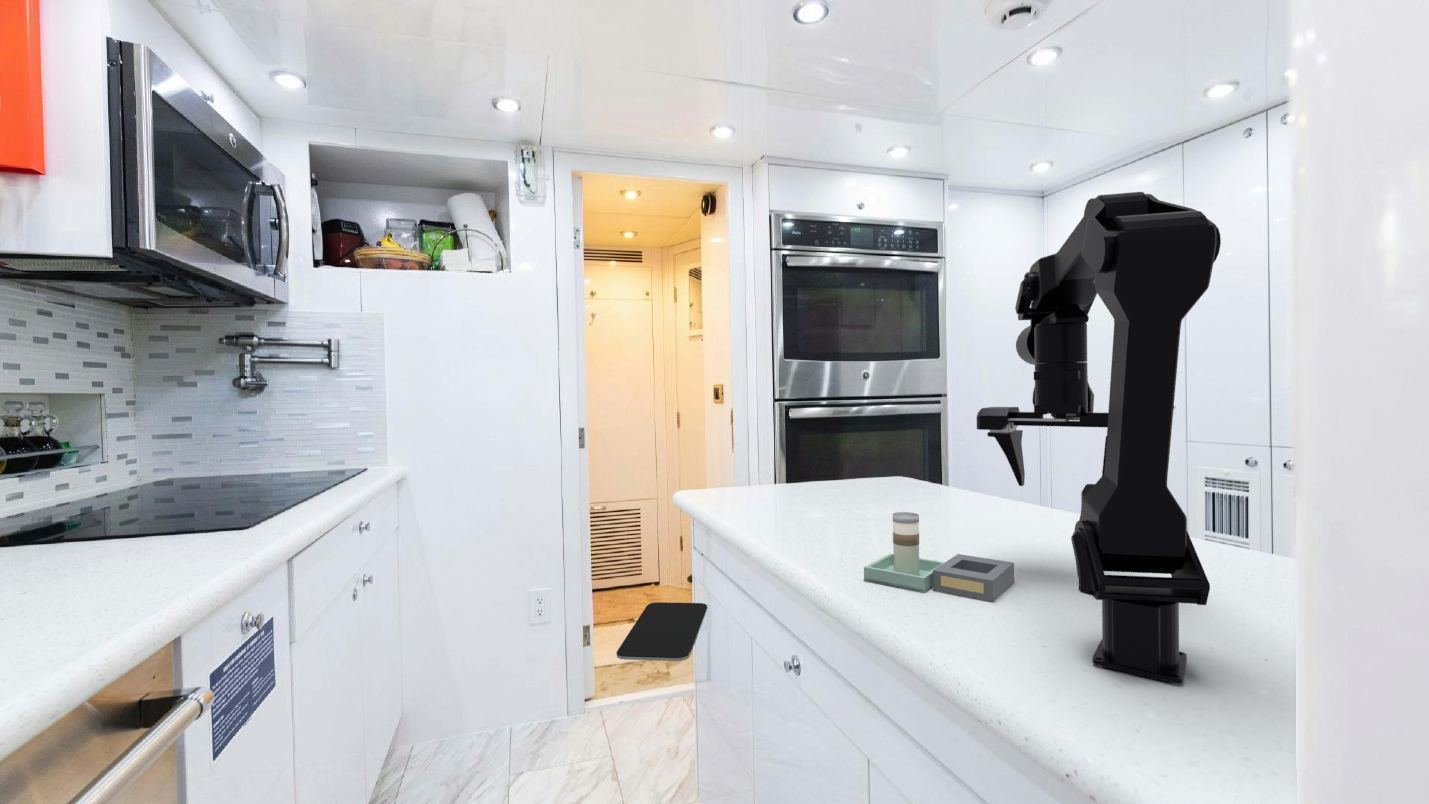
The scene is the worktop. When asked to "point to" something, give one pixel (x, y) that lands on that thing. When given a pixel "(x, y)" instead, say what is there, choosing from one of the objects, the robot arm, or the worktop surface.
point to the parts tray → (901, 574)
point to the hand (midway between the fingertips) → (1061, 488)
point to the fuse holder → (974, 577)
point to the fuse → (906, 542)
